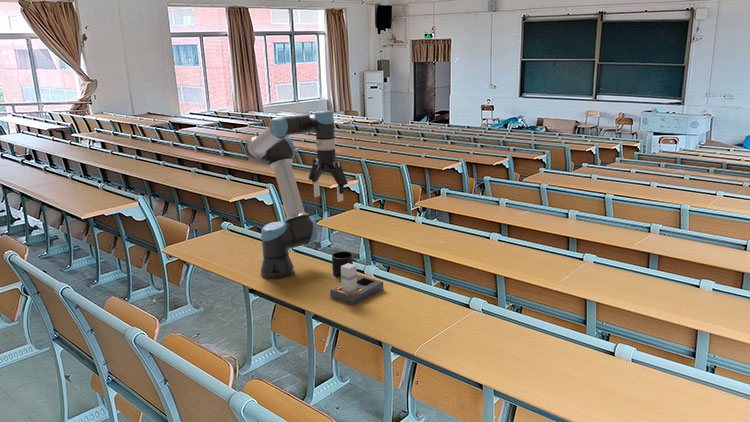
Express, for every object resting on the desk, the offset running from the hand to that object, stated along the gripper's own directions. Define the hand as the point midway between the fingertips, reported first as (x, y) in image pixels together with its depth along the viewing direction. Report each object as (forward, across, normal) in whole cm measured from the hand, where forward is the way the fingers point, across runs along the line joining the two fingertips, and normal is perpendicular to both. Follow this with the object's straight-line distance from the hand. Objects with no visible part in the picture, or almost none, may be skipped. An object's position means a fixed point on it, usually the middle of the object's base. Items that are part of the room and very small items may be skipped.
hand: (328, 198), depth 233 cm
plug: (+39, +15, -6) cm, 42 cm away
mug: (+39, -3, +11) cm, 41 cm away
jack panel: (+39, +16, -2) cm, 42 cm away
